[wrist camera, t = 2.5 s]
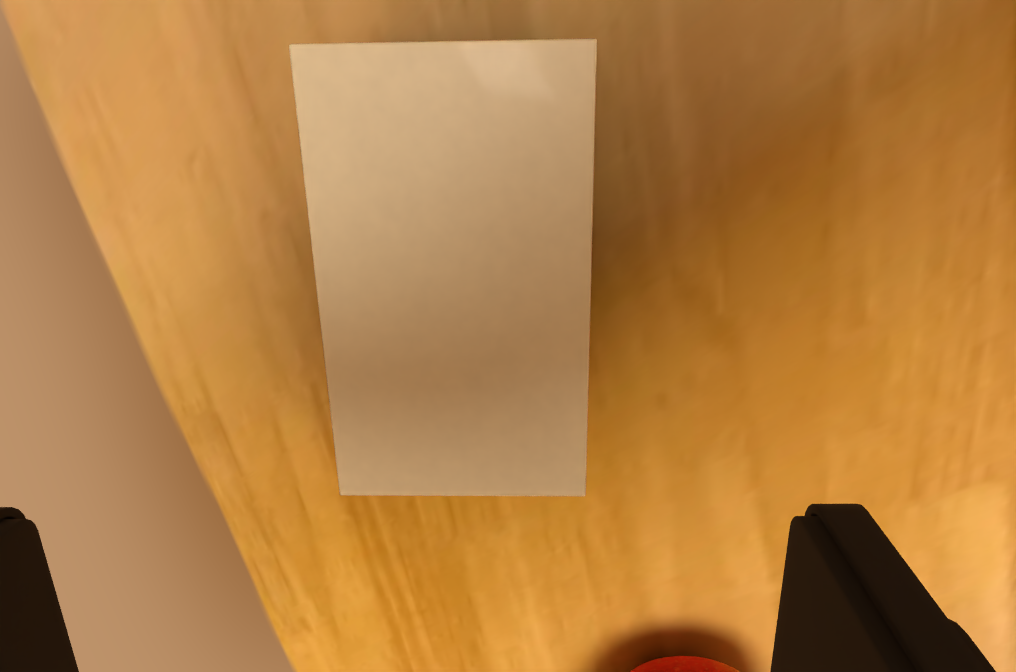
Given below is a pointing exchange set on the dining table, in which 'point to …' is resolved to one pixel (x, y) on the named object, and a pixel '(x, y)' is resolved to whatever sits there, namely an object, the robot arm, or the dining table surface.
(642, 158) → the dining table surface
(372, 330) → the cream rectangular block
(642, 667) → the apple
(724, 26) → the dining table surface
